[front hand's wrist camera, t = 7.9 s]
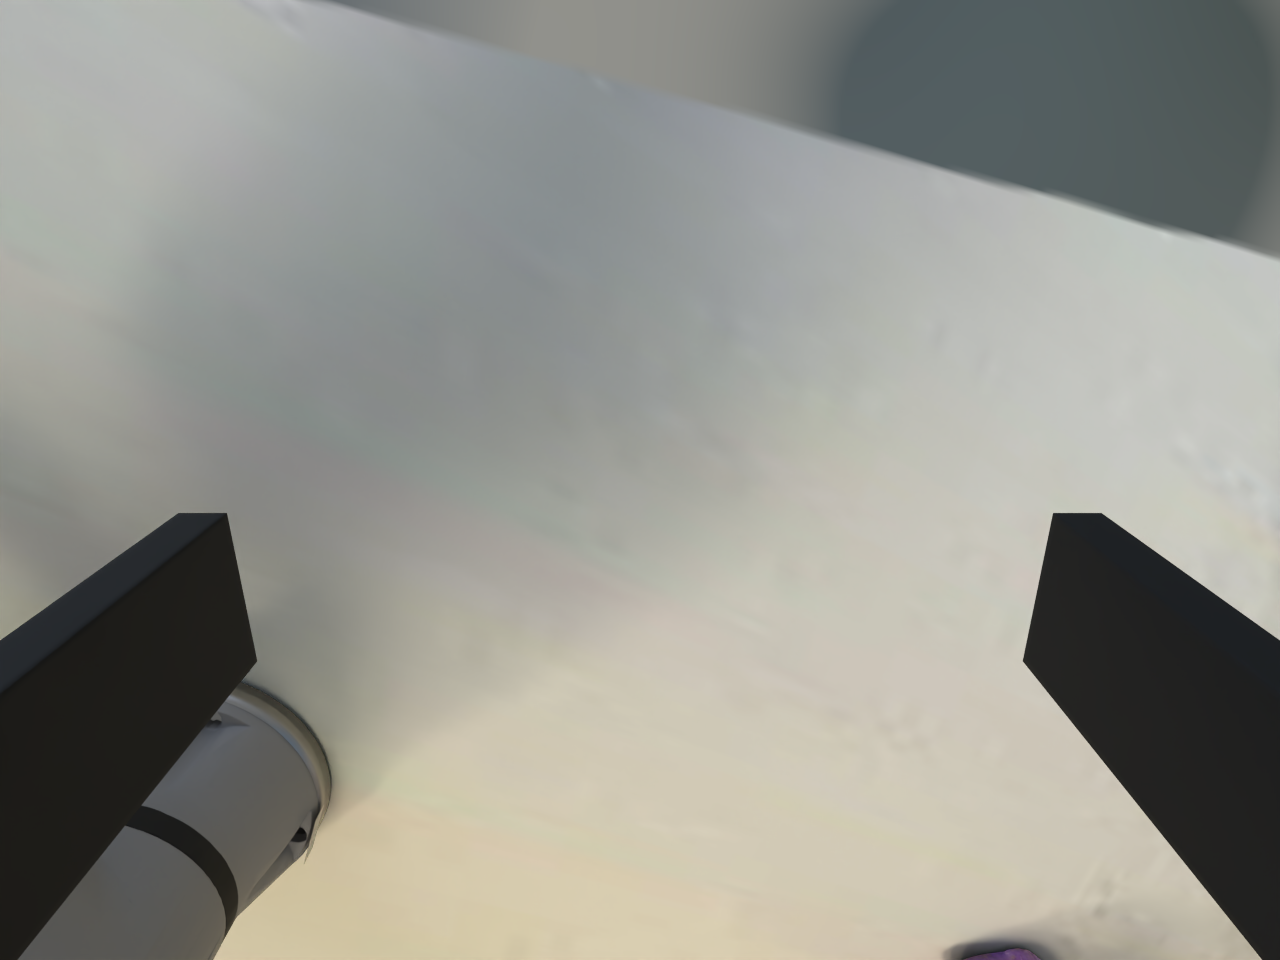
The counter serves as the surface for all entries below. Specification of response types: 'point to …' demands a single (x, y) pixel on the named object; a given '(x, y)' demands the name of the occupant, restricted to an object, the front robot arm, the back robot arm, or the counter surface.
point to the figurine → (1007, 955)
